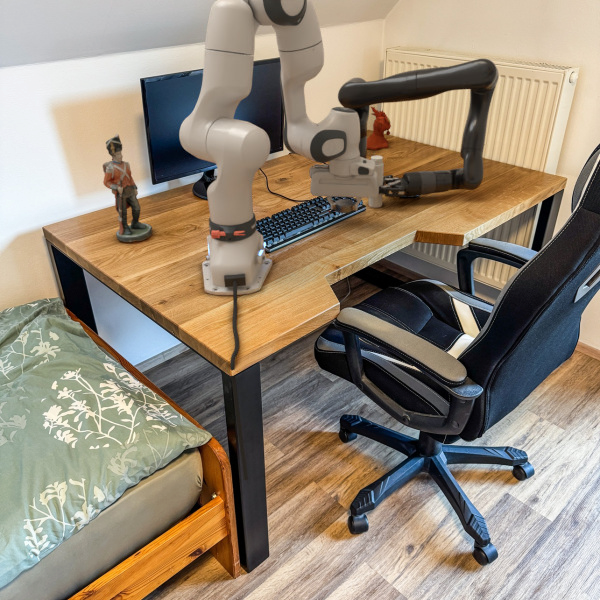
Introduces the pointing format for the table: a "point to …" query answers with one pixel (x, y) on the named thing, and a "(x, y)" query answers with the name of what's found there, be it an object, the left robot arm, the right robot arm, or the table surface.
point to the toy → (379, 131)
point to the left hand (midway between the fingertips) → (344, 209)
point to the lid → (344, 206)
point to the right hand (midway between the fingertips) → (367, 188)
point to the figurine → (124, 194)
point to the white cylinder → (379, 170)
